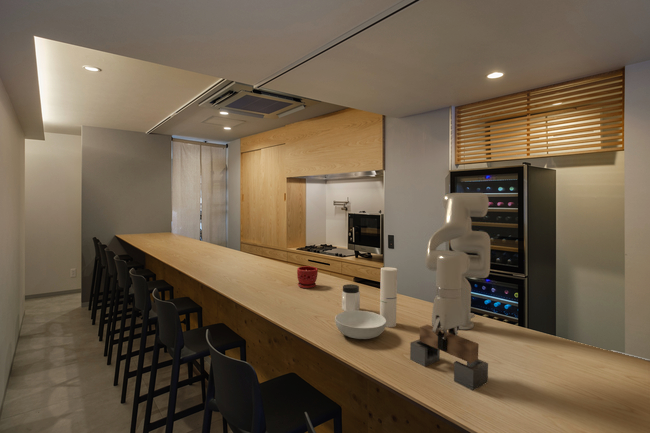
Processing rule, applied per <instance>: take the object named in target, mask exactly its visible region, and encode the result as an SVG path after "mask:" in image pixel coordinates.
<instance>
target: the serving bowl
mask: <svg viewBox="0 0 650 433" xmlns="http://www.w3.org/2000/svg"><path fill="white" fill-rule="evenodd" d="M334 321H335V326H336V328H337V329H338V331H339V332H340V333H341V334H343V335H344V336H346V337H348V338H351V339H357V340H368V339H374V338H376V337H379V336H380V335H381V334H382V333H383V332H384V330H386V327H385V326H386V319H385V318H384V317H383V316H381V315H380V313H376V312H373V311H367V310H358V311H343V312H340V313H338V314H336V315H335V317H334Z"/></svg>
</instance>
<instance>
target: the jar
mask: <svg viewBox="0 0 650 433" xmlns="http://www.w3.org/2000/svg"><path fill="white" fill-rule="evenodd" d="M360 295H361V292H360V286H359V285H357V284H353V283H352V284H350V283H349V284H344V285H342V291H341V310H342V311H343V312H346V311H361V308H360V306H361V305H360V303H361V302H360V301H361V300H360V299H361V298H360V297H361V296H360Z"/></svg>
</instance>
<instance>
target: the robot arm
mask: <svg viewBox="0 0 650 433" xmlns="http://www.w3.org/2000/svg"><path fill="white" fill-rule="evenodd" d="M489 201H490V200H489V197H488V195H487V194H486V193H483V192H452V193H447V194H445V195H443V197H442V204H443V207H444V209H445V210H444V216H443V217H444V218H443V224H442V225H443V226H441V227H440V228H438V229H437V230H436V231H435V232H434V233H433V234H432V235H431V237H430V238H429V240H428V242H427V245H426V246H427V247H426V252H425V260H424V262H425V266H426V268H427V269H428V270H429V271H432V272H436V277H435V278H436V280H435V281H436V282H435V286H436V287H435V297H434V300H433V304H432V311H431V312H432V313H431V326H433V329H432V331H433V332H434V333H435V334H436V335H437V337H438V349H440V351H441V350H442V352H444V351H445V352H444V353H446V351H447V339H446V335H447V332H449V333H451V334H454V335H457V336H458V331H459V330H466V331H467V330H472V329H473V328H474V327H475V324H474V322H473V321H471V320H472V319H473V318H476V315H475V313H473V312H471V308H472V307H471V304H472V301H471V300H472V286H471V283H470V282H469V281H468V279H467V278H475V279H476V278H479V279H486V278H488V277H489V275H490V271H491V237H490V235H489V234H488V232H486V231H480V230H479V231H477V230H473V229H472V218H471V217H473V218H474V217H475V218H483V217H486V215H487V213H488V210H489V204H490V202H489ZM447 242H450V248H451V250H448V249H447V250H444V249H437V248H438V247H440V245H442V244H444V243H447ZM468 253H469V254H468ZM473 254H474V255H473ZM475 254H477V255H475ZM441 330H442V331H443V333H442V332H441Z"/></svg>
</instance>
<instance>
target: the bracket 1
mask: <svg viewBox="0 0 650 433" xmlns="http://www.w3.org/2000/svg"><path fill="white" fill-rule="evenodd" d="M409 344H410V349H409V350H410V351H409V357H410V358H409V360H410V361H412V362H415V363H417V364H418V365H421V366H423V367H427V366H429V365H431V364H435V363H436V362H439V361H441V360H440V354H441V352H440V351H441V350H439V349H437V348H434V347H432V346H430V345H427V344H425V343H423V342H420V338H419V339H417V340H414V341H411V342H410V343H409Z"/></svg>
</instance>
